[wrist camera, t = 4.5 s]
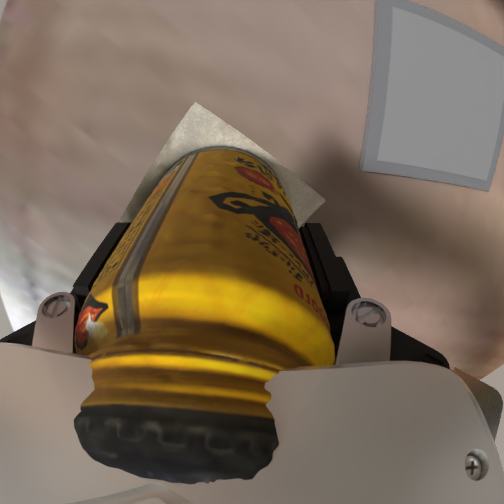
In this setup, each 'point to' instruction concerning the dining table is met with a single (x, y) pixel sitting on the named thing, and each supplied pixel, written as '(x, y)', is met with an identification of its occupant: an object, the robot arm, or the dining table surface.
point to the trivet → (433, 98)
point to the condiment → (201, 311)
